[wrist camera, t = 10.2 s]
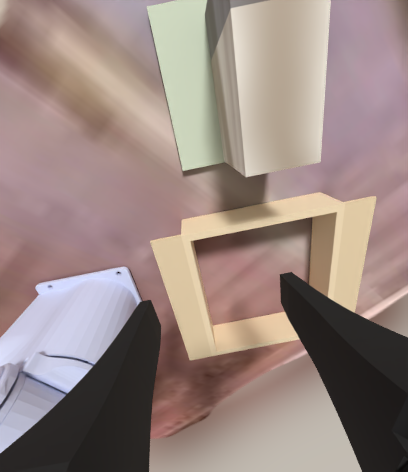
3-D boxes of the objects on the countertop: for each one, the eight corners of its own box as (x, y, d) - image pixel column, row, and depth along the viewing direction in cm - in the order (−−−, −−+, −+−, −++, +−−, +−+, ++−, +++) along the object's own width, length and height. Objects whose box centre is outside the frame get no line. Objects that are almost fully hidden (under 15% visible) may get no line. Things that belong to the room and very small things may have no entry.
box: (224, 160, 18) (246, 177, 11) (204, 14, 14) (221, -87, 7) (271, 151, 18) (320, 162, 11) (266, 1, 14) (337, -112, 7)
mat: (182, 169, 18) (182, 170, 18) (147, 10, 14) (146, 6, 13) (310, 144, 18) (313, 144, 18) (317, -25, 14) (322, -30, 13)
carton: (189, 333, 27) (190, 360, 24) (155, 224, 20) (150, 242, 17) (331, 305, 27) (351, 329, 24) (346, 186, 20) (376, 197, 17)
